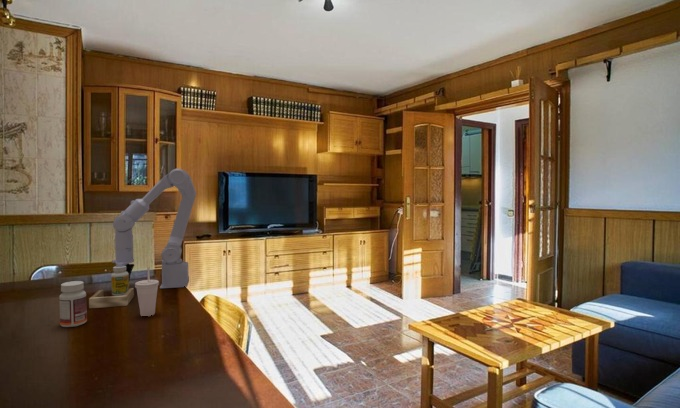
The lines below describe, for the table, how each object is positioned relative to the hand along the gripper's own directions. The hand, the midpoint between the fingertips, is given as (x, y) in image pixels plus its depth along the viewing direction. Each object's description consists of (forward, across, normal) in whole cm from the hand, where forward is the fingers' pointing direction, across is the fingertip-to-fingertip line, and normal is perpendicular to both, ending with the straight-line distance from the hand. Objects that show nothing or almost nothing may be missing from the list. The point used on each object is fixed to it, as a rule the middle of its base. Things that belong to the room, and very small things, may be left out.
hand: (125, 284), depth 143 cm
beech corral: (+1, +17, 0) cm, 17 cm away
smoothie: (+2, +33, +13) cm, 35 cm away
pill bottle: (+2, +36, -5) cm, 36 cm away
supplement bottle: (+2, +7, 0) cm, 7 cm away
